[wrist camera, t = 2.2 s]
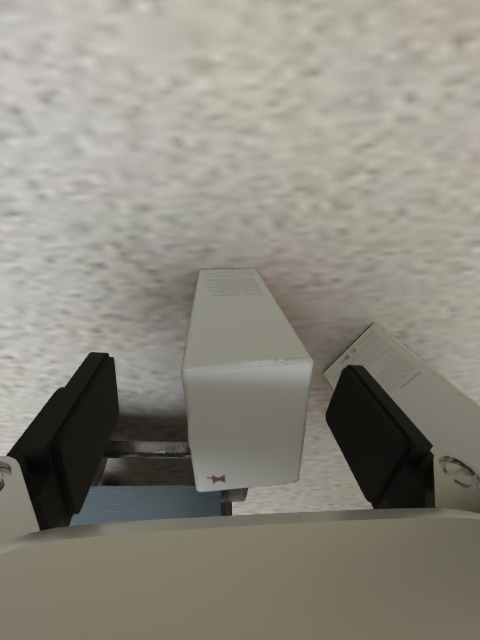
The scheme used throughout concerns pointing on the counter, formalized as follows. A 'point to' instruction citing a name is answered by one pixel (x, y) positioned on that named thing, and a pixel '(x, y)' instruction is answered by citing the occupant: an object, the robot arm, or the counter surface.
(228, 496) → the trolley
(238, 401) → the skincare box
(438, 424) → the small box
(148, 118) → the counter surface
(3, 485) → the robot arm
